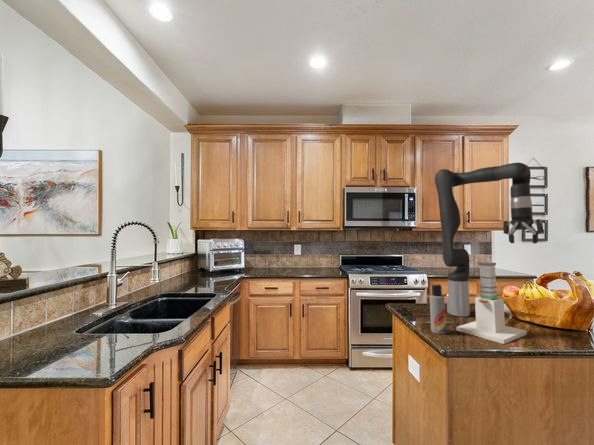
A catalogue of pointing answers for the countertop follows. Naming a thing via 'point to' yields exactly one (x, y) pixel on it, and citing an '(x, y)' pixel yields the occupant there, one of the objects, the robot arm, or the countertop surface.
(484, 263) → the post
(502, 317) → the stand
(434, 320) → the lotion bottle
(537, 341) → the countertop surface
